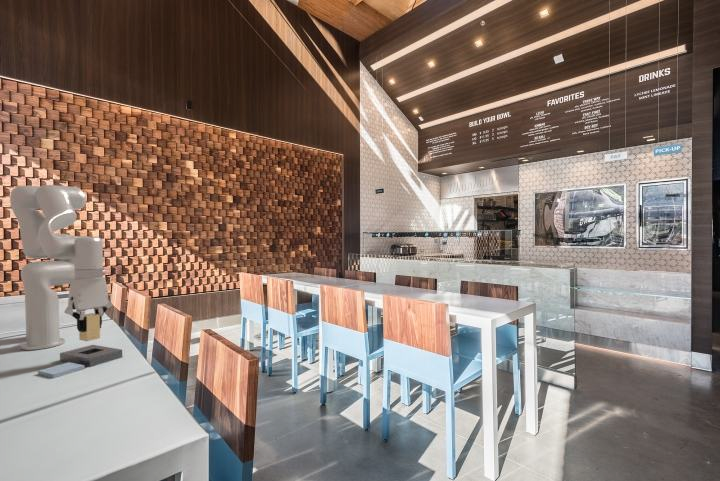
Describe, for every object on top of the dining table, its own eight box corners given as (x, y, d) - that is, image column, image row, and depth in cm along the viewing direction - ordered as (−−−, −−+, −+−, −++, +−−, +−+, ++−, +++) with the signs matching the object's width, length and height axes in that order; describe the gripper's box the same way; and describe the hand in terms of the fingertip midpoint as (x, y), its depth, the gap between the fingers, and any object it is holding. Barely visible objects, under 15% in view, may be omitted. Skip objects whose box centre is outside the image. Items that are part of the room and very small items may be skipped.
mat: (38, 374, 108) (38, 370, 108) (69, 365, 115) (69, 362, 115) (53, 377, 104) (53, 374, 104) (84, 368, 112) (84, 365, 112)
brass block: (79, 339, 120) (79, 315, 120) (92, 336, 124) (92, 313, 124) (86, 341, 119) (86, 316, 118) (99, 338, 122) (99, 314, 122)
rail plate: (60, 360, 120) (59, 353, 120) (93, 351, 129) (92, 344, 129) (89, 366, 113) (89, 358, 113) (122, 357, 122) (122, 349, 122)
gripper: (108, 271, 130) (108, 322, 130) (52, 276, 115) (53, 334, 115) (121, 272, 127) (122, 325, 127) (66, 277, 112) (67, 337, 112)
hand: (89, 329), depth 121 cm, fingers closed on brass block, 4 cm apart
